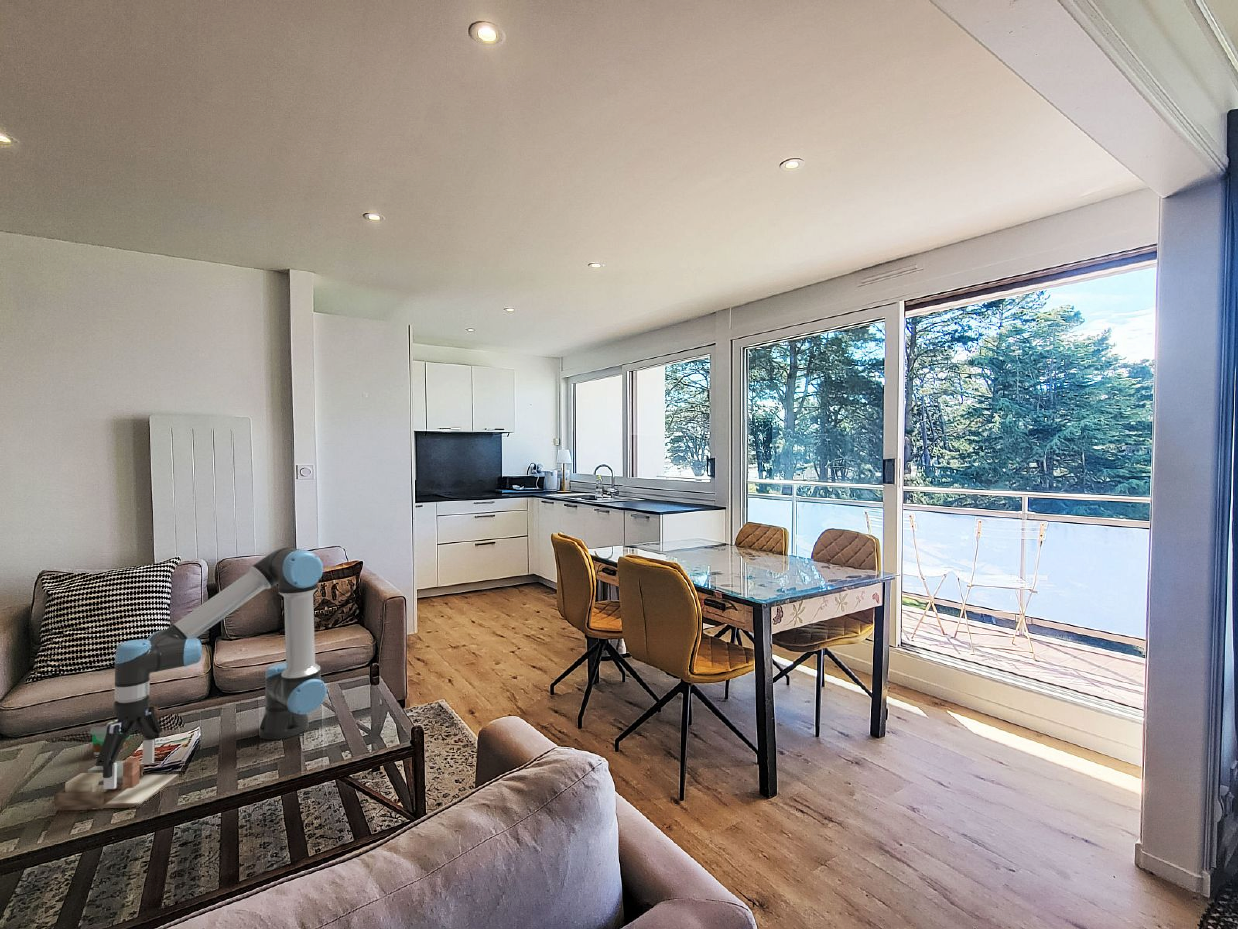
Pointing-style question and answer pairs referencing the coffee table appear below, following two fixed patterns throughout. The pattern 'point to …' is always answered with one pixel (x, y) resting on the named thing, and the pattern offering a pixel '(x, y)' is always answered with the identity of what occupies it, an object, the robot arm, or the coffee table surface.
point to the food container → (103, 737)
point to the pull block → (96, 780)
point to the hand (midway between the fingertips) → (129, 775)
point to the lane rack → (115, 792)
